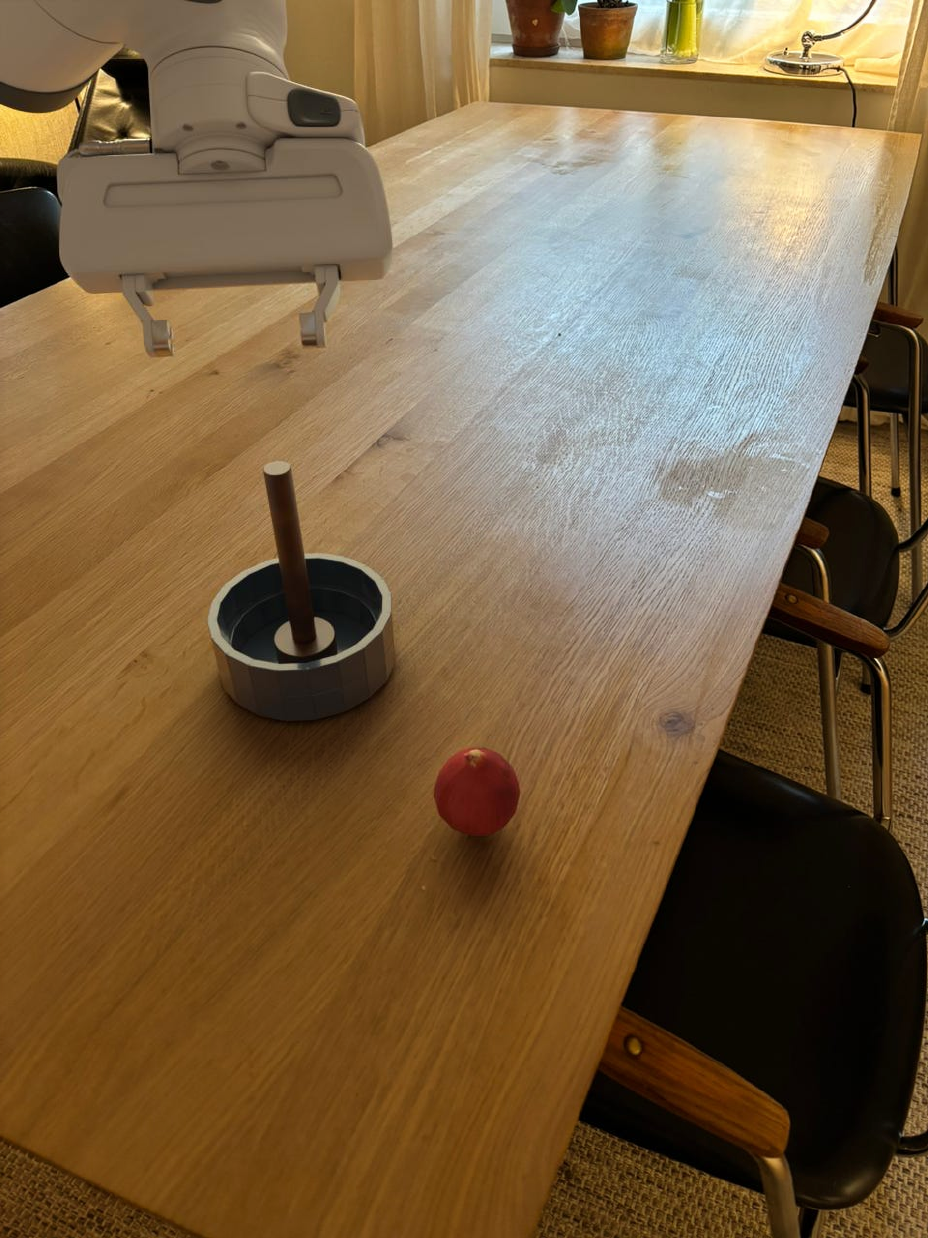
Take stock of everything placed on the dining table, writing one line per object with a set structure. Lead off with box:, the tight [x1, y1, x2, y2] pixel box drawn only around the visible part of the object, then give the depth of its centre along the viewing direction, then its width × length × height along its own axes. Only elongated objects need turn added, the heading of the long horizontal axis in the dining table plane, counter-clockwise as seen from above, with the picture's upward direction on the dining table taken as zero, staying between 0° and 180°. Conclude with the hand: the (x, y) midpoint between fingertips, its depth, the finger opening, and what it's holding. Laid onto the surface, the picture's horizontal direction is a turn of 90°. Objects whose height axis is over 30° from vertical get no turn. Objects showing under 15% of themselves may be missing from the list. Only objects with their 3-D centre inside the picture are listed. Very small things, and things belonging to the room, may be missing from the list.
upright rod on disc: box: [262, 460, 338, 664], centre depth 77 cm, size 5×5×18 cm
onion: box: [433, 747, 521, 837], centre depth 67 cm, size 6×6×8 cm
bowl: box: [206, 552, 397, 722], centre depth 81 cm, size 15×15×6 cm
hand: (237, 349), depth 61 cm, fingers open, 8 cm apart
